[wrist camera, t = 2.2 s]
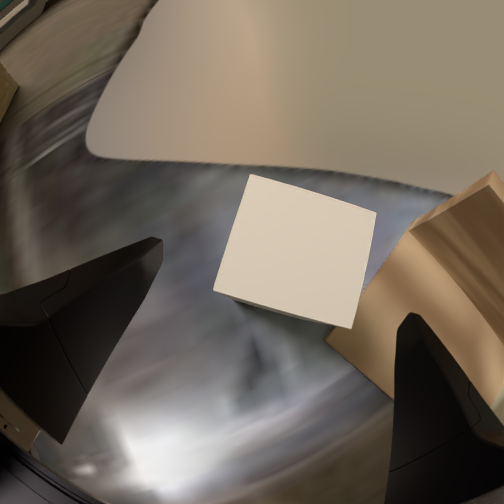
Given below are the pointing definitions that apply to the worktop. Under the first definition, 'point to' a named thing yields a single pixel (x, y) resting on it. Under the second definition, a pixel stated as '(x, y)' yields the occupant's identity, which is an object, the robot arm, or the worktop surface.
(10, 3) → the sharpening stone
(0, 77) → the caddy
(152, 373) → the worktop surface
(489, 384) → the wooden stand
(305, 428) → the worktop surface
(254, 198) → the bookend
